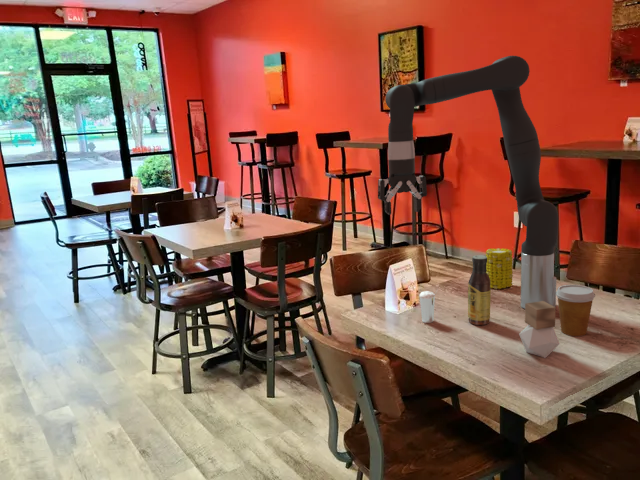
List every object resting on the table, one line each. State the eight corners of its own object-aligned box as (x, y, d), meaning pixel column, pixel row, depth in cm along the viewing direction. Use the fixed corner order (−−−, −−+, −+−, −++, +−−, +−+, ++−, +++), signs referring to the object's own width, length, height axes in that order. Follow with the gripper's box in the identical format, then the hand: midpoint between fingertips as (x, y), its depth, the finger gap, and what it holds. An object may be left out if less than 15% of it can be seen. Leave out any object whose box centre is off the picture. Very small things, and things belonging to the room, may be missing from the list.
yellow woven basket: (488, 294, 190) (487, 287, 198) (521, 287, 186) (519, 281, 195) (478, 254, 188) (478, 249, 197) (511, 247, 185) (509, 242, 194)
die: (565, 355, 138) (552, 318, 142) (560, 351, 131) (546, 312, 135) (531, 363, 141) (520, 327, 145) (525, 360, 134) (513, 321, 138)
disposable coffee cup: (590, 326, 153) (592, 284, 151) (595, 339, 144) (597, 295, 142) (553, 324, 156) (554, 283, 154) (555, 337, 148) (557, 294, 145)
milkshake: (438, 324, 162) (437, 291, 160) (419, 323, 163) (418, 291, 161) (438, 318, 166) (437, 286, 164) (420, 318, 168) (419, 286, 165)
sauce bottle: (465, 319, 165) (465, 254, 160) (487, 317, 164) (487, 252, 160) (471, 327, 158) (470, 259, 154) (493, 326, 158) (493, 258, 154)
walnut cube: (543, 319, 140) (543, 301, 139) (554, 326, 135) (555, 307, 134) (525, 322, 139) (525, 303, 138) (536, 329, 134) (536, 309, 133)
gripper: (420, 154, 164) (421, 208, 168) (373, 158, 162) (375, 213, 165) (429, 156, 157) (430, 212, 160) (381, 159, 154) (383, 217, 158)
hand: (402, 212), depth 163 cm, fingers open, 8 cm apart
